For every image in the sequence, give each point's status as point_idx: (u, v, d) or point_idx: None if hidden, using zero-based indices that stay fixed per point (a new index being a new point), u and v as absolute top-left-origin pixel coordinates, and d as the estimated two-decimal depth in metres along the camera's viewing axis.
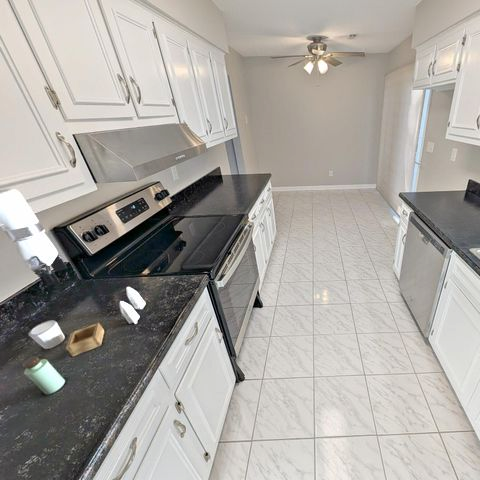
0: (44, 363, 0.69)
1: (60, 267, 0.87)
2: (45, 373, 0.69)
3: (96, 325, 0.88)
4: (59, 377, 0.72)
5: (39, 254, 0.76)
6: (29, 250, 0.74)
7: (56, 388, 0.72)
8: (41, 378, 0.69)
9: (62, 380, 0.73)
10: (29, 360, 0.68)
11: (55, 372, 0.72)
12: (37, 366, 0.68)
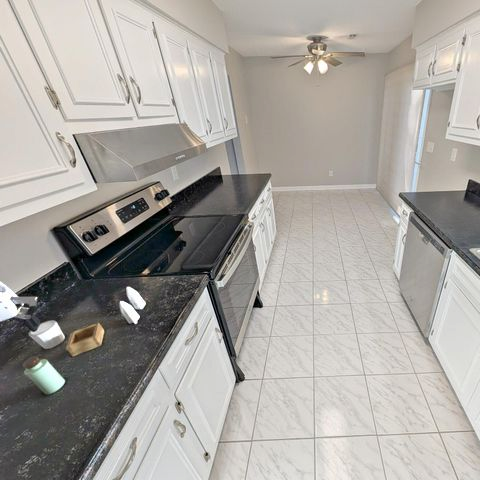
0: (44, 363, 0.69)
1: None
2: (45, 373, 0.69)
3: (96, 325, 0.88)
4: (59, 377, 0.72)
5: None
6: None
7: (56, 388, 0.72)
8: (41, 378, 0.69)
9: (62, 380, 0.73)
10: (29, 360, 0.68)
11: (55, 372, 0.72)
12: (37, 366, 0.68)
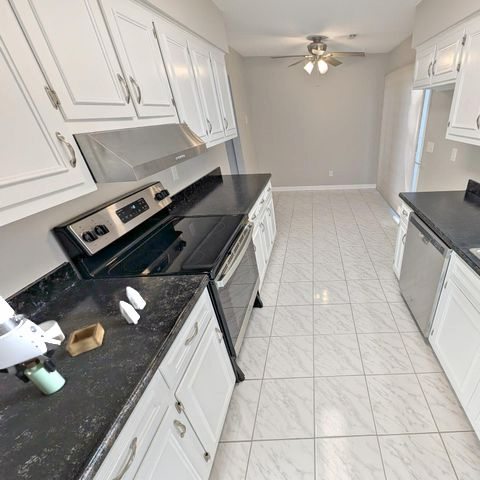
0: None
1: None
2: (45, 373, 0.69)
3: (96, 325, 0.88)
4: (59, 377, 0.72)
5: None
6: None
7: (56, 388, 0.72)
8: (41, 378, 0.69)
9: (62, 380, 0.73)
10: (29, 360, 0.68)
11: (55, 372, 0.72)
12: (37, 366, 0.68)
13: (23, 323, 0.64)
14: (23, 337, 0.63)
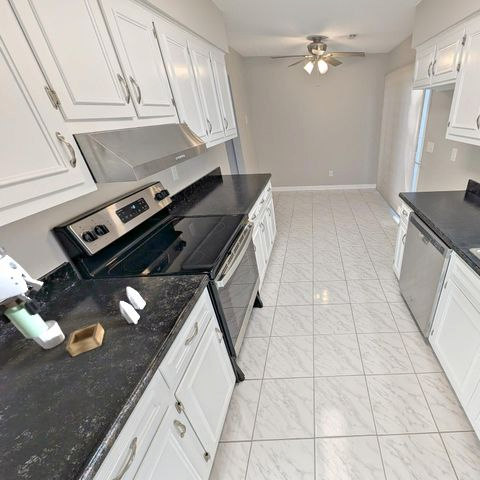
0: None
1: None
2: (26, 315, 0.66)
3: (96, 325, 0.88)
4: (42, 322, 0.70)
5: None
6: None
7: (38, 333, 0.69)
8: (22, 319, 0.66)
9: (45, 326, 0.71)
10: (9, 300, 0.65)
11: (37, 316, 0.69)
12: (17, 306, 0.65)
13: (2, 258, 0.61)
14: (1, 271, 0.60)
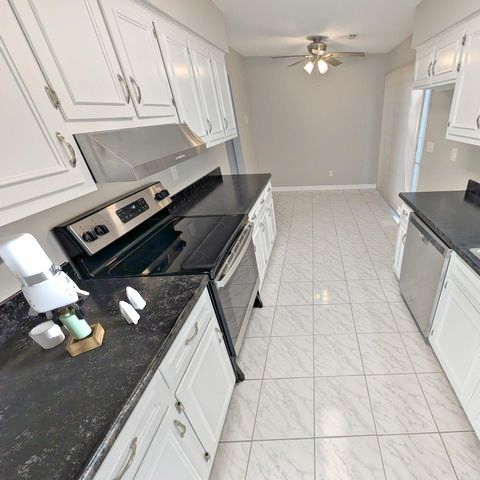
0: None
1: None
2: (76, 320, 0.80)
3: (96, 325, 0.88)
4: (87, 325, 0.84)
5: (28, 301, 0.73)
6: None
7: (85, 334, 0.83)
8: (73, 323, 0.80)
9: (89, 328, 0.84)
10: (63, 308, 0.79)
11: (84, 320, 0.83)
12: (69, 313, 0.79)
13: (59, 273, 0.75)
14: (59, 285, 0.74)
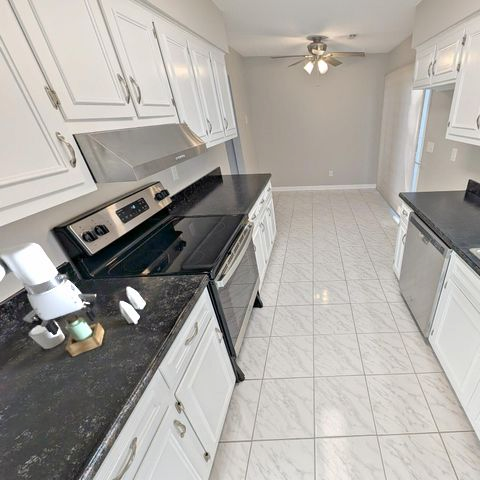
0: (81, 320, 0.82)
1: None
2: (82, 328, 0.82)
3: (96, 325, 0.88)
4: (92, 333, 0.86)
5: None
6: None
7: None
8: (79, 332, 0.82)
9: None
10: (69, 317, 0.81)
11: (89, 329, 0.85)
12: (76, 321, 0.81)
13: (65, 282, 0.76)
14: (65, 293, 0.76)
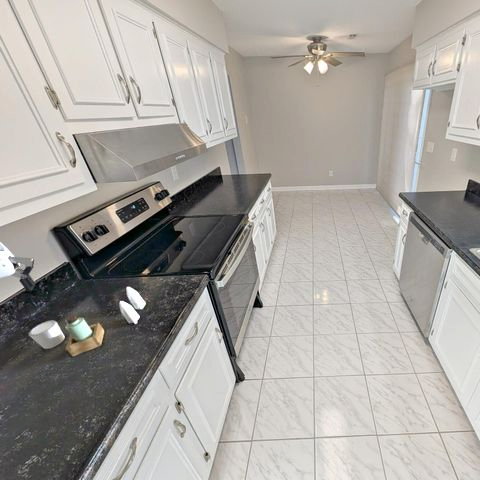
0: (81, 320, 0.82)
1: None
2: (82, 328, 0.82)
3: (96, 325, 0.88)
4: (92, 333, 0.86)
5: None
6: None
7: None
8: (79, 332, 0.82)
9: None
10: (69, 317, 0.81)
11: (89, 329, 0.85)
12: (76, 321, 0.81)
13: None
14: None
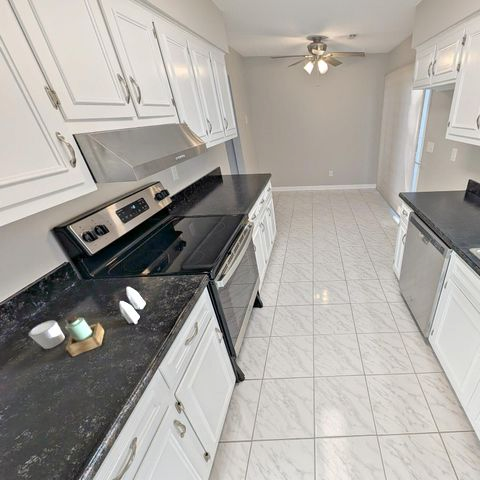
0: (81, 320, 0.82)
1: None
2: (82, 328, 0.82)
3: (96, 325, 0.88)
4: (92, 333, 0.86)
5: None
6: None
7: None
8: (79, 332, 0.82)
9: None
10: (69, 317, 0.81)
11: (89, 329, 0.85)
12: (76, 321, 0.81)
13: None
14: None
